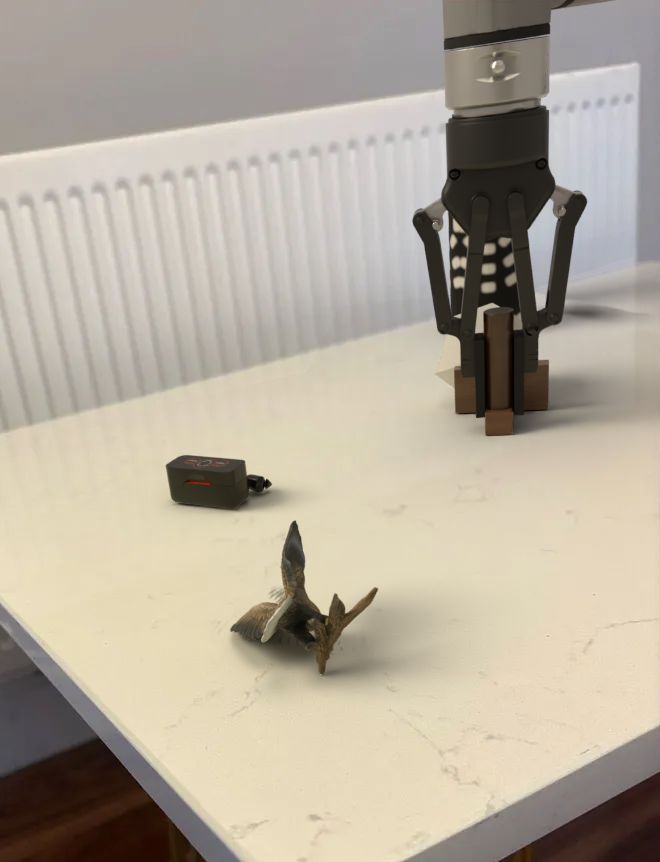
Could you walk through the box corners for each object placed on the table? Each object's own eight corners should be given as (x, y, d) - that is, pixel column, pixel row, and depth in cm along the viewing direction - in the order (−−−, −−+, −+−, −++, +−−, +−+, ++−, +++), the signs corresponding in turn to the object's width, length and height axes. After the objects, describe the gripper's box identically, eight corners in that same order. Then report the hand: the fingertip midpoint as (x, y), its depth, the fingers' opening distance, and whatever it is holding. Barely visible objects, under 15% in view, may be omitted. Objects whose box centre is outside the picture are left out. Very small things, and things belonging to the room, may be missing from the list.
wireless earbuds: (243, 513, 79) (238, 473, 78) (168, 504, 83) (162, 466, 81) (273, 490, 82) (269, 452, 81) (199, 483, 86) (194, 446, 85)
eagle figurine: (408, 625, 58) (323, 549, 65) (354, 559, 53) (268, 484, 60) (312, 718, 59) (236, 633, 65) (249, 661, 54) (174, 575, 60)
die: (551, 411, 92) (562, 305, 93) (478, 384, 88) (490, 272, 89) (482, 428, 99) (493, 329, 100) (412, 403, 95) (424, 300, 96)
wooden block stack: (548, 433, 85) (550, 312, 81) (450, 437, 88) (446, 320, 83) (548, 403, 92) (549, 289, 87) (456, 407, 94) (453, 297, 89)
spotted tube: (525, 317, 119) (526, 130, 110) (528, 335, 112) (529, 137, 103) (452, 323, 122) (447, 140, 112) (450, 341, 115) (444, 148, 105)
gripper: (389, 126, 75) (405, 431, 86) (613, 96, 72) (601, 419, 82) (394, 119, 82) (408, 404, 93) (600, 91, 78) (590, 391, 89)
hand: (499, 410), depth 87 cm, fingers closed on wooden block stack, 2 cm apart
